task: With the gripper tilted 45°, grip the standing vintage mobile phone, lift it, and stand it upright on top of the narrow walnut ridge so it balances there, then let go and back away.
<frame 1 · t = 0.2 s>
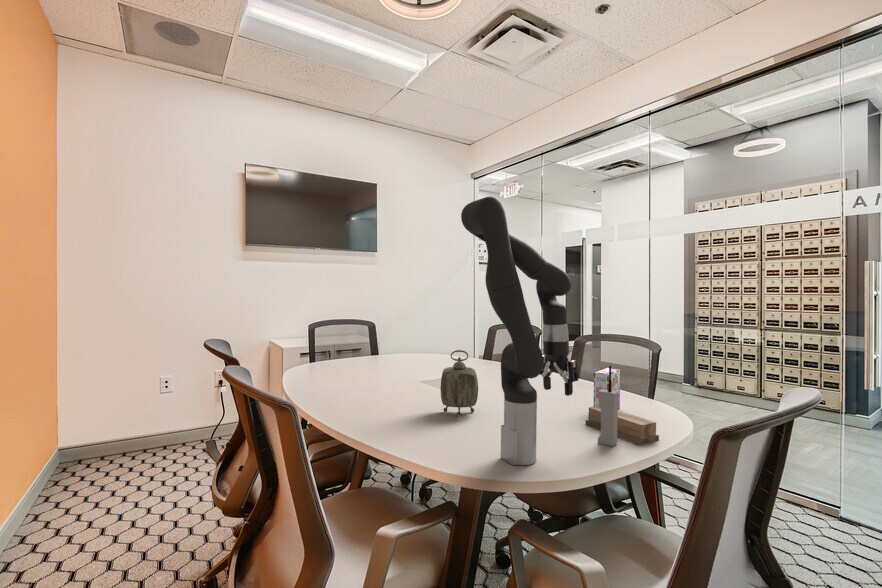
hand: (557, 392, 126), 18 cm above the table, tool pointing down, fingers open, 8 cm apart
tabletop clock: (458, 414, 162), on the table
vintage mobile phone: (607, 444, 133), on the table
walnut ridge: (620, 431, 144), on the table
candy box: (606, 411, 169), on the table
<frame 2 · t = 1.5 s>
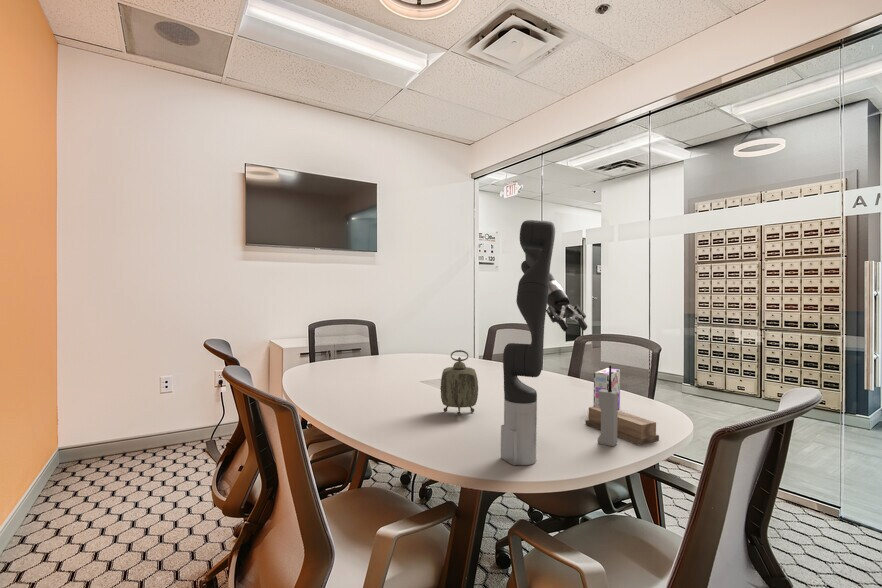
hand: (576, 329, 145), 35 cm above the table, tool tilted 45°, fingers open, 8 cm apart
nothing on the table moved.
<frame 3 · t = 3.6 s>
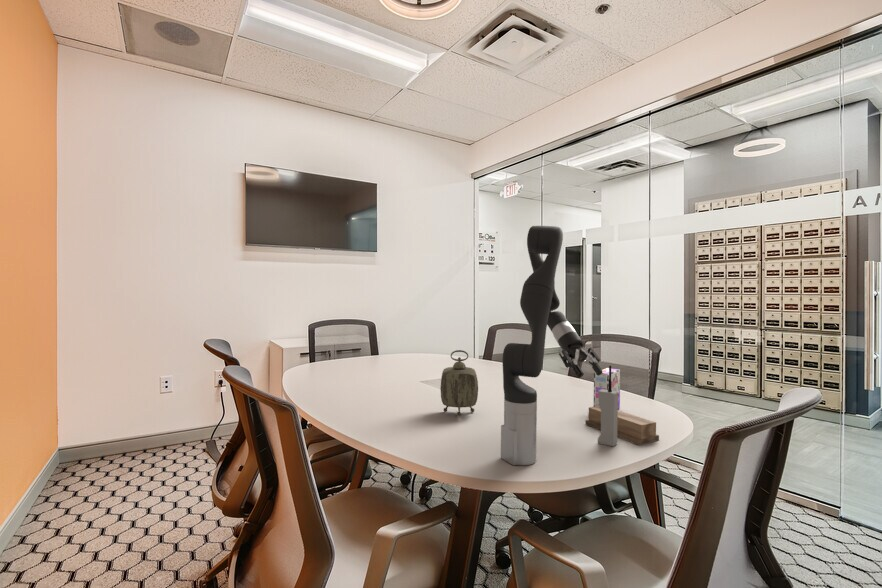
hand: (591, 375, 139), 20 cm above the table, tool tilted 45°, fingers open, 8 cm apart
nothing on the table moved.
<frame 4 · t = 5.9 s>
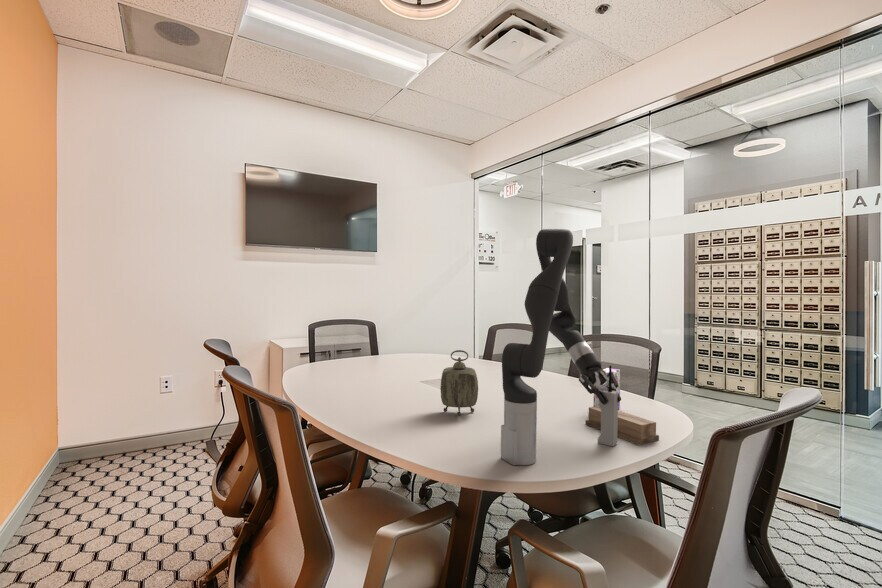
hand: (612, 402, 131), 14 cm above the table, tool tilted 45°, fingers closed on vintage mobile phone, 5 cm apart
vintage mobile phone: (607, 444, 133), on the table, touching gripper
everything else where it was.
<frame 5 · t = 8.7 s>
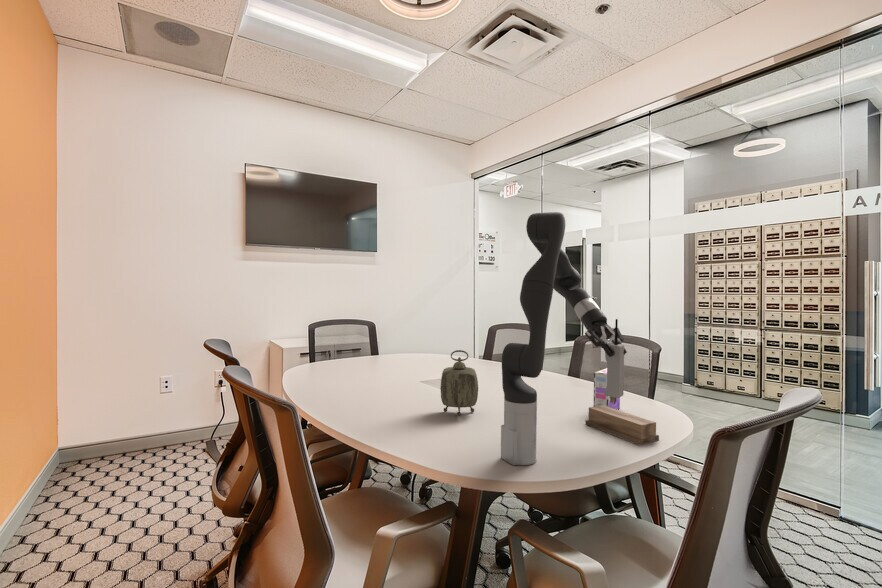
hand: (618, 354, 133), 28 cm above the table, tool tilted 45°, fingers closed on vintage mobile phone, 4 cm apart
vintage mobile phone: (613, 396, 135), point 14 cm above the table, touching gripper
everything else where it was.
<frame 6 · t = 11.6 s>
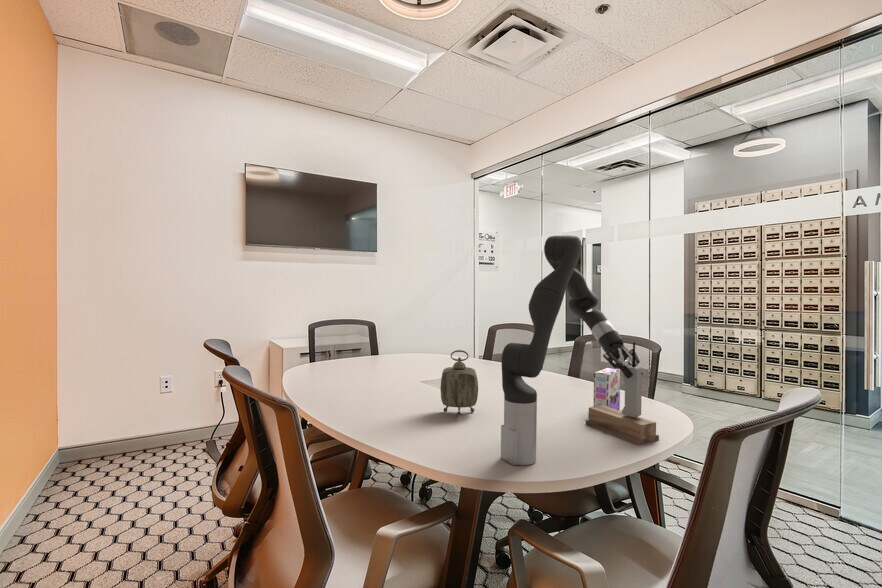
hand: (635, 376, 138), 20 cm above the table, tool tilted 45°, fingers closed on vintage mobile phone, 4 cm apart
vintage mobile phone: (631, 415, 141), point 6 cm above the table, touching gripper
everything else where it was.
when the fingers open (20 cm above the table, at t = 11.6 s): vintage mobile phone stays where it is, resting on walnut ridge.
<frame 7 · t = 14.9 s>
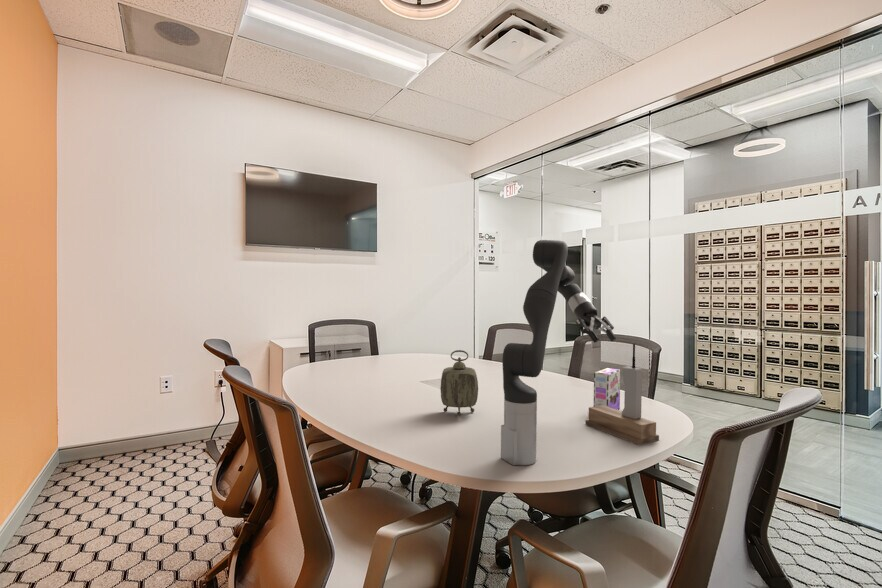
hand: (605, 340, 150), 31 cm above the table, tool tilted 45°, fingers open, 8 cm apart
vintage mobile phone: (631, 417, 141), point 6 cm above the table, touching walnut ridge
everything else where it was.
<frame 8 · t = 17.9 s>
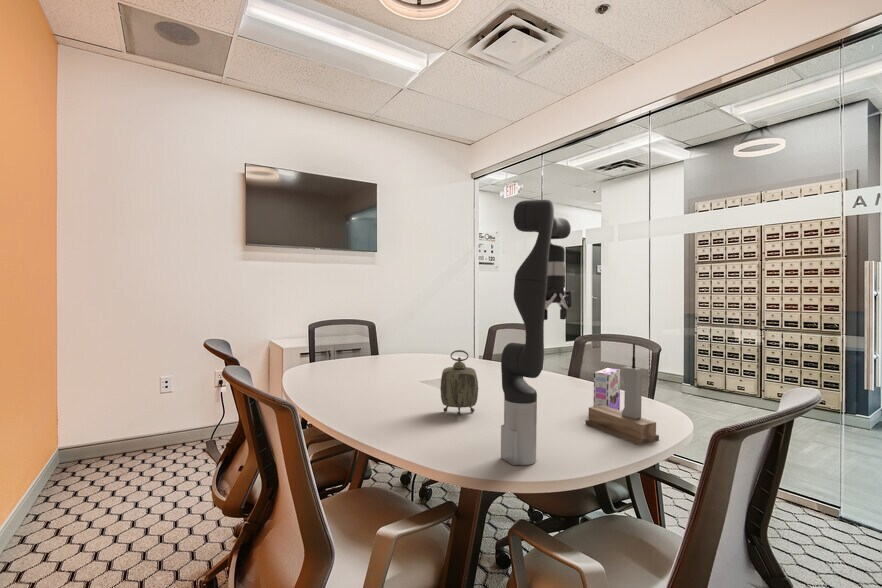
hand: (553, 319, 151), 38 cm above the table, tool pointing down, fingers open, 8 cm apart
nothing on the table moved.
at the end: vintage mobile phone inside the target area on the walnut ridge (3.7 cm from its centre), point 5.8 cm above the walnut ridge's base; vintage mobile phone tilted 0°; the gripper is holding nothing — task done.
